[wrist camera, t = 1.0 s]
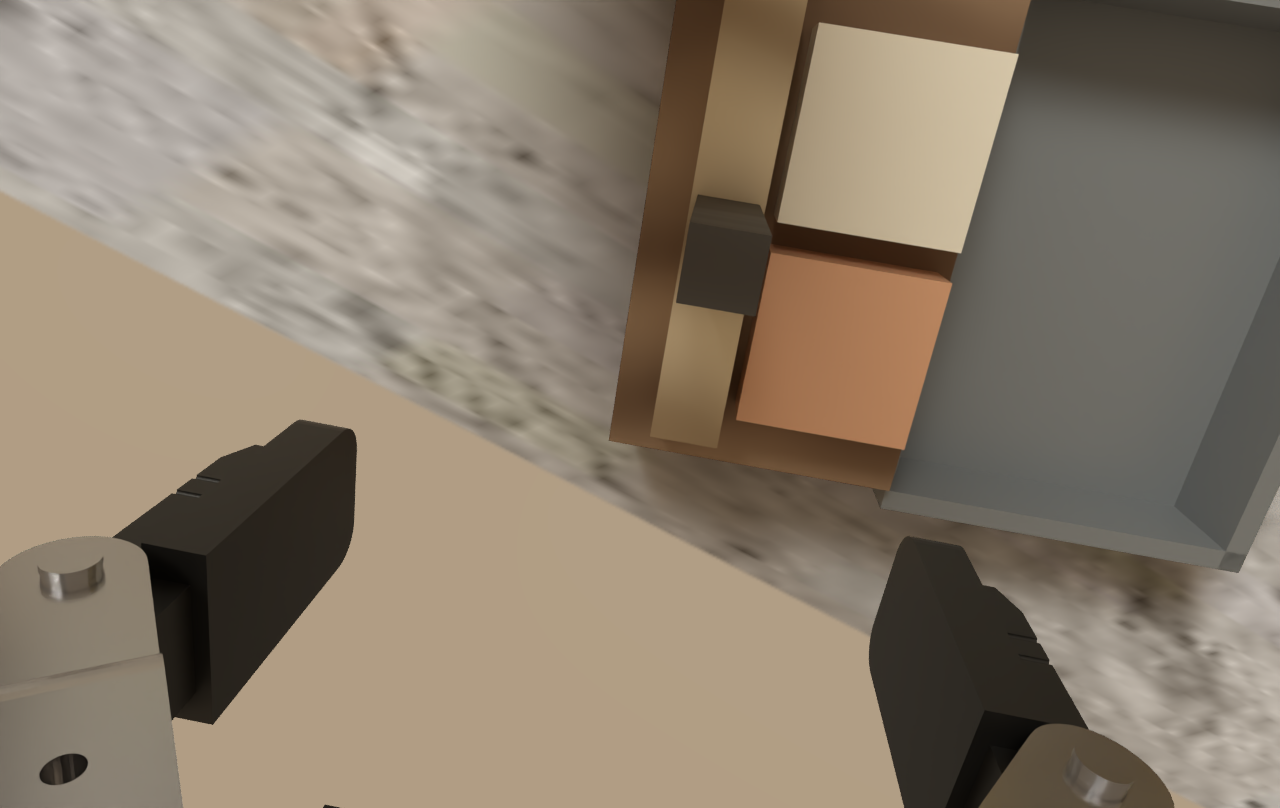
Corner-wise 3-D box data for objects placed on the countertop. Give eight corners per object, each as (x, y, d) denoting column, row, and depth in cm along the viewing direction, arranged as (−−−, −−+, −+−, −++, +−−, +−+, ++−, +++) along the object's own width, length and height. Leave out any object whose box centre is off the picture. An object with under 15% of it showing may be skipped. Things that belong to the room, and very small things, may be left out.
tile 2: (812, 28, 27) (819, 22, 25) (997, 58, 26) (1018, 54, 25) (774, 215, 29) (777, 222, 27) (945, 244, 29) (961, 253, 27)
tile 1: (767, 243, 29) (770, 252, 27) (937, 272, 29) (952, 283, 27) (735, 401, 31) (735, 420, 29) (893, 429, 31) (904, 449, 29)
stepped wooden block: (693, -51, 31) (688, -81, 26) (989, -5, 30) (1038, -26, 26) (623, 398, 37) (608, 440, 32) (868, 442, 36) (889, 491, 32)
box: (997, -35, 30) (1042, -59, 26) (1389, 26, 29) (1501, 12, 25) (862, 462, 37) (880, 508, 33) (1178, 519, 36) (1238, 572, 32)
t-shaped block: (729, -20, 26) (733, -87, 18) (803, -8, 26) (845, -69, 17) (655, 412, 32) (628, 530, 23) (717, 423, 32) (715, 546, 23)
